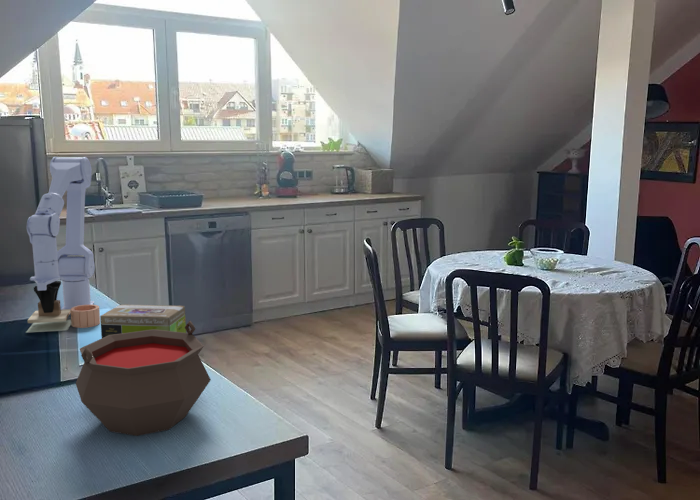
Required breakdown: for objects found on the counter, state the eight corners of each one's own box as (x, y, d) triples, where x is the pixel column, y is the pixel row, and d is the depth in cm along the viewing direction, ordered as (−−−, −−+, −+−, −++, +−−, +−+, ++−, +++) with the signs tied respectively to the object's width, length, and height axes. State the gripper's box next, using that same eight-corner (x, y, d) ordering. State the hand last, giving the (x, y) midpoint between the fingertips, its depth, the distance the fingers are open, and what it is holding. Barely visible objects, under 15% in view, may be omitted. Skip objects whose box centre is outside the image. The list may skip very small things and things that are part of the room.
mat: (34, 323, 179) (34, 321, 179) (74, 321, 181) (73, 319, 181) (25, 334, 170) (25, 332, 169) (67, 332, 172) (67, 330, 172)
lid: (35, 313, 178) (34, 298, 178) (71, 311, 180) (70, 296, 180) (27, 323, 170) (26, 307, 169) (65, 321, 172) (64, 305, 171)
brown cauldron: (162, 383, 138) (159, 307, 135) (239, 415, 123) (237, 331, 120) (49, 421, 120) (43, 334, 117) (123, 464, 105) (118, 366, 102)
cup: (74, 323, 180) (73, 305, 179) (101, 321, 182) (100, 303, 181) (69, 330, 173) (68, 312, 172) (98, 328, 175) (97, 310, 174)
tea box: (188, 369, 147) (186, 304, 144) (172, 386, 137) (169, 317, 134) (123, 366, 148) (120, 302, 145) (102, 383, 138) (98, 314, 136)
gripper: (35, 255, 178) (39, 304, 181) (22, 266, 164) (26, 319, 167) (63, 254, 180) (66, 302, 182) (53, 265, 166) (56, 317, 168)
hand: (49, 310), depth 175 cm, fingers closed on lid, 2 cm apart
